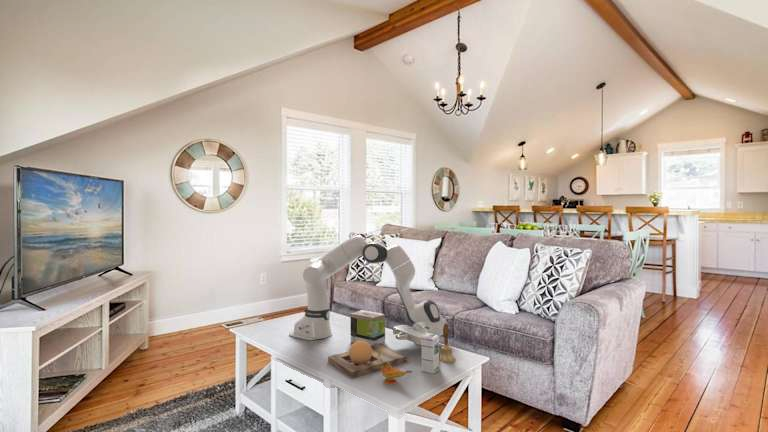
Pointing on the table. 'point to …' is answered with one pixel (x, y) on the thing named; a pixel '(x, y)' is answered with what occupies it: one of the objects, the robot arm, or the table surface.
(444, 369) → the table surface
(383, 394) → the table surface
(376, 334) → the tea box
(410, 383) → the table surface
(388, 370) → the magic lamp
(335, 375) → the table surface
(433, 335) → the syrup box
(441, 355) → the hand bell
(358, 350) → the ball
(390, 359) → the wooden board with hole
